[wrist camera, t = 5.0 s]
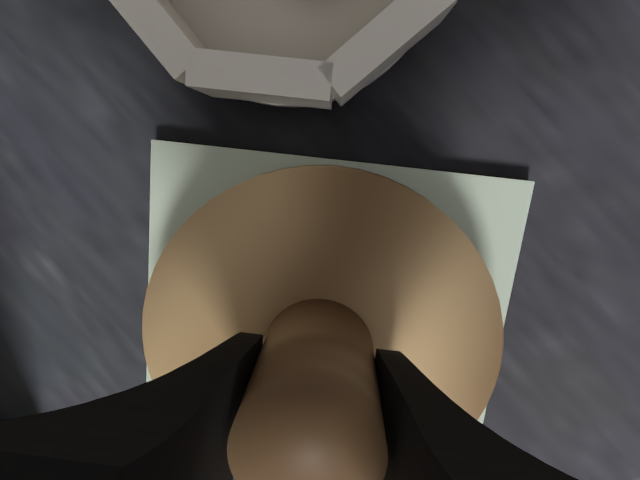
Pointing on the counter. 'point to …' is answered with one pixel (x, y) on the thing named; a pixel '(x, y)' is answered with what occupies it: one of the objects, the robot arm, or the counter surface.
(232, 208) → the lid
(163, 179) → the mat
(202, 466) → the robot arm
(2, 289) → the counter surface
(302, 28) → the bowl
